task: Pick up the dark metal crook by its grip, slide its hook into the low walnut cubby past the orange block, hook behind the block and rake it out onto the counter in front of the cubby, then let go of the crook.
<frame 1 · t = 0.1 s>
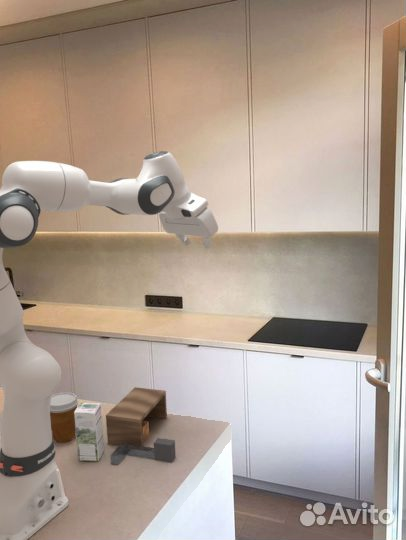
hand: (197, 245, 143), 54 cm above the counter, tool tilted 30°, fingers open, 8 cm apart
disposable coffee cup: (64, 437, 144), on the counter
syrup box: (91, 456, 133), on the counter
walnut cubby: (138, 430, 146), on the counter
metal crook: (165, 458, 131), on the counter
orange block: (140, 436, 143), on the counter
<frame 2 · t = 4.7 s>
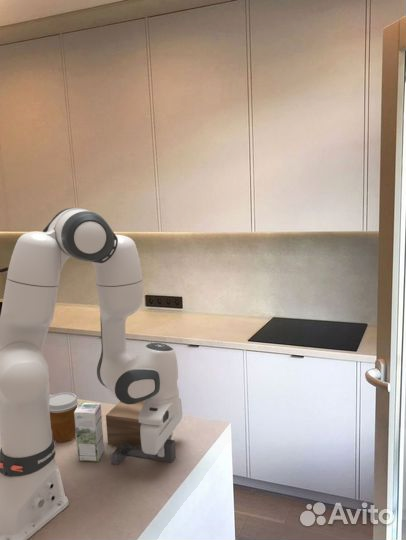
hand: (164, 451, 131), 2 cm above the counter, tool pointing down, fingers closed on metal crook, 3 cm apart
metal crook: (165, 458, 131), on the counter, touching gripper
everything else where it was.
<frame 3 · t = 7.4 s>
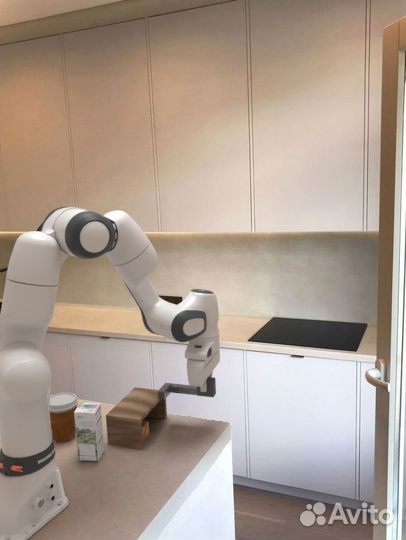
hand: (206, 388, 144), 13 cm above the counter, tool pointing down, fingers closed on metal crook, 3 cm apart
metal crook: (206, 394, 145), point 11 cm above the counter, touching gripper
everything else where it was.
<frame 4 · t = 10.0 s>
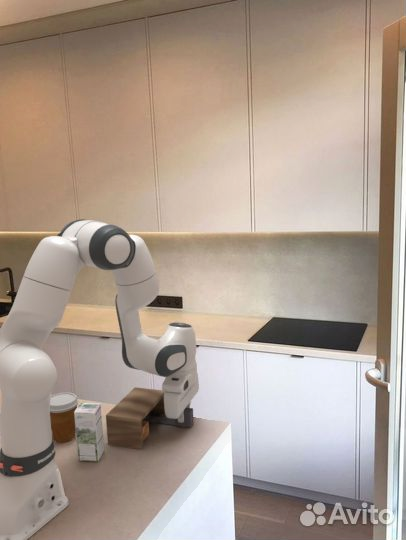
hand: (183, 418, 148), 2 cm above the counter, tool pointing down, fingers closed on metal crook, 3 cm apart
metal crook: (184, 424, 148), on the counter, touching gripper
everything else where it was.
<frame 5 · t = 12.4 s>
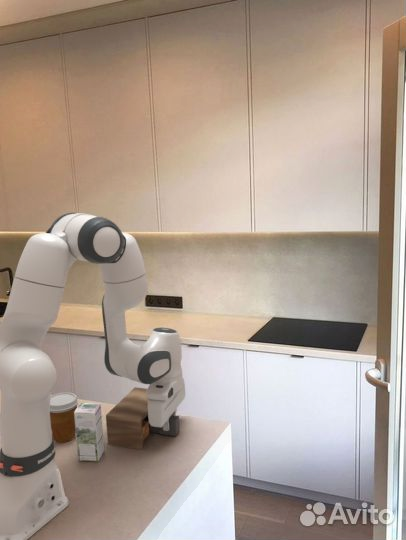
hand: (169, 426, 143), 2 cm above the counter, tool pointing down, fingers closed on metal crook, 3 cm apart
metal crook: (169, 432, 144), on the counter, touching gripper
everything else where it was.
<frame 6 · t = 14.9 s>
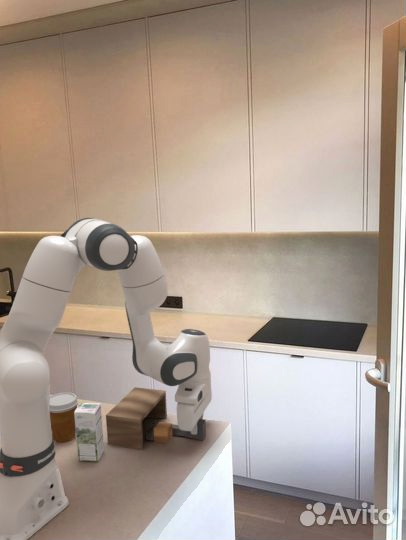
hand: (196, 429, 141), 2 cm above the counter, tool pointing down, fingers closed on metal crook, 3 cm apart
metal crook: (196, 436, 141), on the counter, touching gripper
orange block: (163, 438, 141), on the counter
everything else where it was.
when the fingers open (2 cm above the counter, at t = 15.6 s): metal crook stays where it is, on the counter.
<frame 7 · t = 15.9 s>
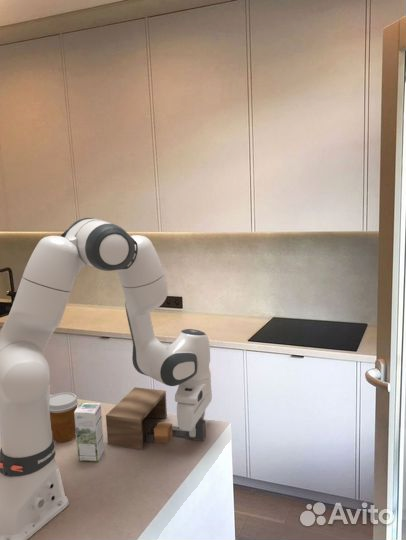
hand: (196, 429, 141), 2 cm above the counter, tool pointing down, fingers open, 5 cm apart
metal crook: (196, 437, 141), on the counter
everything else where it was.
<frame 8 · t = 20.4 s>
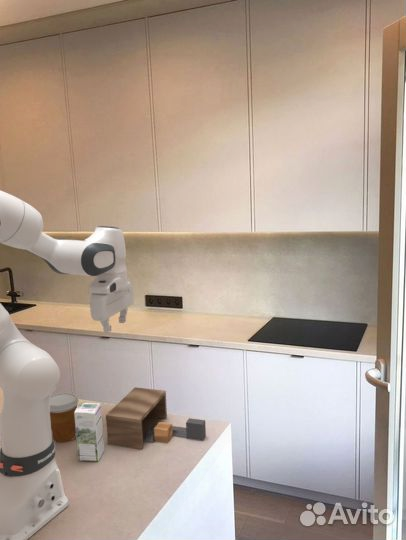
hand: (115, 327, 144), 31 cm above the counter, tool pointing down, fingers open, 8 cm apart
nothing on the counter moved.
at the end: orange block inside the target area (2.0 cm from its centre), on the counter; orange block tilted 0°; the gripper is holding nothing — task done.
